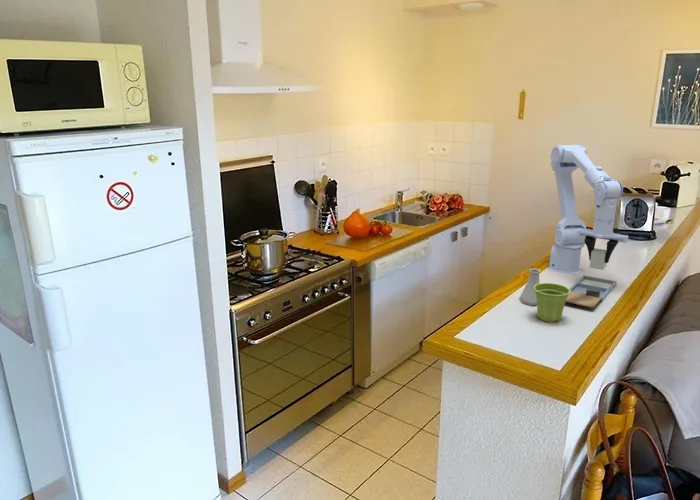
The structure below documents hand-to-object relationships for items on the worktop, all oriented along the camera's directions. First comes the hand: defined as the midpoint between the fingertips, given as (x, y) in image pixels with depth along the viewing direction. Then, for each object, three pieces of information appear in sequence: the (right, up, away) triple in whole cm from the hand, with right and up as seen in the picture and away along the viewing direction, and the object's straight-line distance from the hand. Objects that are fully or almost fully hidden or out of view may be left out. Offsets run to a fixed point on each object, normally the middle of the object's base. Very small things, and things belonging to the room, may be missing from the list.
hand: (598, 260), depth 169 cm
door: (-11, -11, -12) cm, 20 cm away
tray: (-3, -9, -1) cm, 10 cm away
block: (0, -2, 0) cm, 2 cm away
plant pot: (-24, -16, -21) cm, 35 cm away
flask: (-25, -12, -9) cm, 29 cm away
